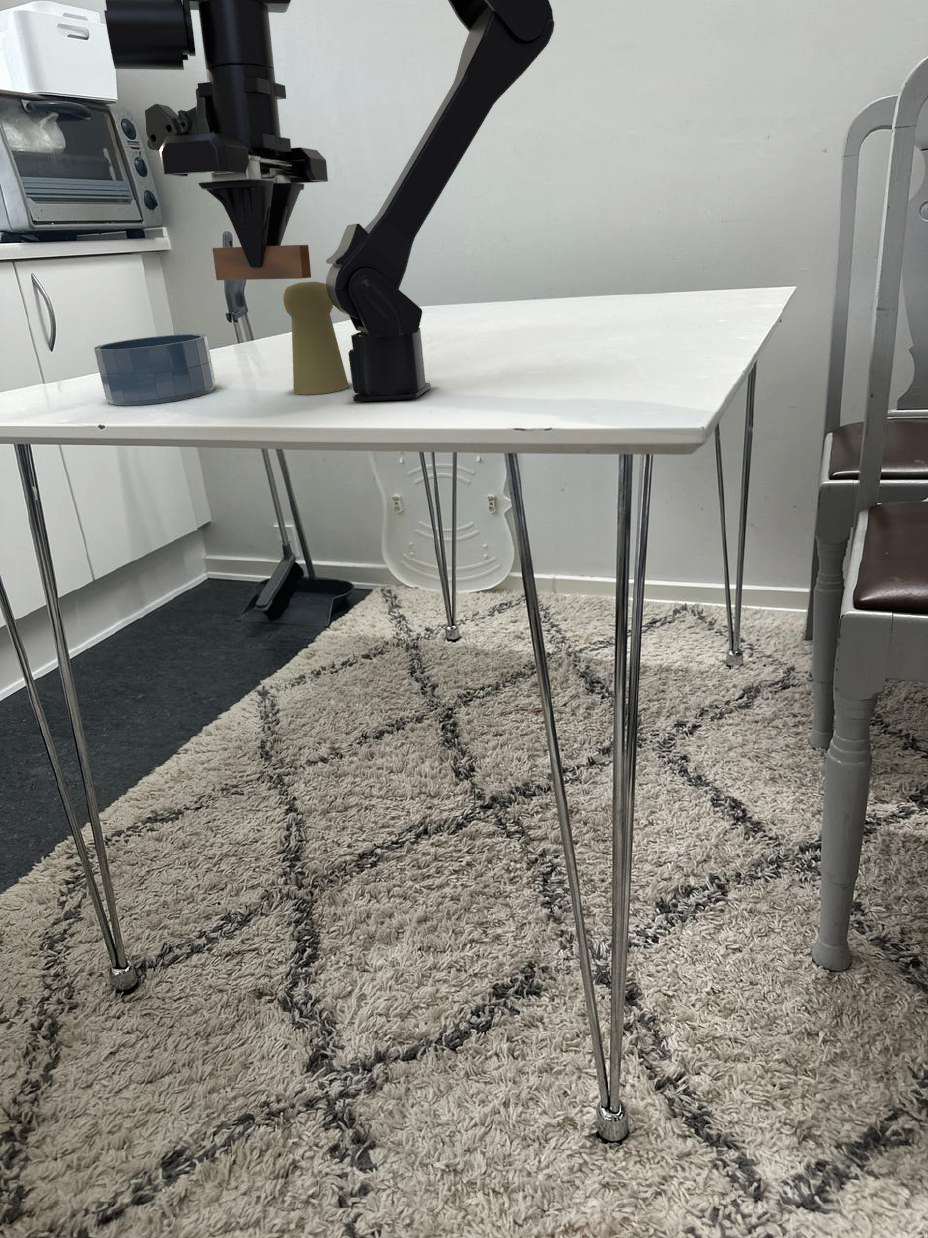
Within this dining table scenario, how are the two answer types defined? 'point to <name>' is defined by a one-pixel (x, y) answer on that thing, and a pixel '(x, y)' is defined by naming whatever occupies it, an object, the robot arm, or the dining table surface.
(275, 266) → the walnut wood brick
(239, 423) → the dining table surface
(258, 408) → the dining table surface
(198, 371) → the bowl
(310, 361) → the cork
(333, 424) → the dining table surface
